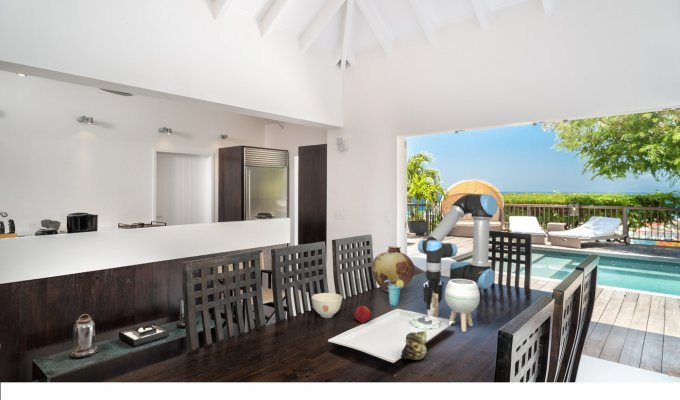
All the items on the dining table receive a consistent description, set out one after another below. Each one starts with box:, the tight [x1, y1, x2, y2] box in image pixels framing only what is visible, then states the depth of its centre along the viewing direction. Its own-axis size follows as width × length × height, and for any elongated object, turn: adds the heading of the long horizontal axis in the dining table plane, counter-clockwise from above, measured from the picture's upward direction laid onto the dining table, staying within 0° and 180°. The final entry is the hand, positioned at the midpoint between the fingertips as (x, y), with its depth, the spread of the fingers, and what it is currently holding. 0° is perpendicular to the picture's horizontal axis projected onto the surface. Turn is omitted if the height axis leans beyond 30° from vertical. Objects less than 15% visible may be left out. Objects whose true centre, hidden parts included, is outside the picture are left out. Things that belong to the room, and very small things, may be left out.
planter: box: [444, 279, 481, 333], centre depth 189 cm, size 16×16×22 cm
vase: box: [371, 245, 415, 293], centre depth 254 cm, size 28×27×30 cm
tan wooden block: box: [431, 292, 439, 318], centre depth 205 cm, size 4×4×12 cm
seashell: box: [400, 330, 427, 361], centre depth 153 cm, size 11×11×10 cm
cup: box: [384, 279, 404, 306], centre depth 227 cm, size 14×8×15 cm, turn 124°
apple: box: [354, 305, 372, 323], centre depth 195 cm, size 8×8×8 cm
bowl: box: [311, 292, 343, 319], centre depth 204 cm, size 16×16×10 cm
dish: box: [409, 315, 441, 329], centre depth 193 cm, size 14×14×3 cm
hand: (432, 314), depth 205 cm, fingers closed on tan wooden block, 3 cm apart
